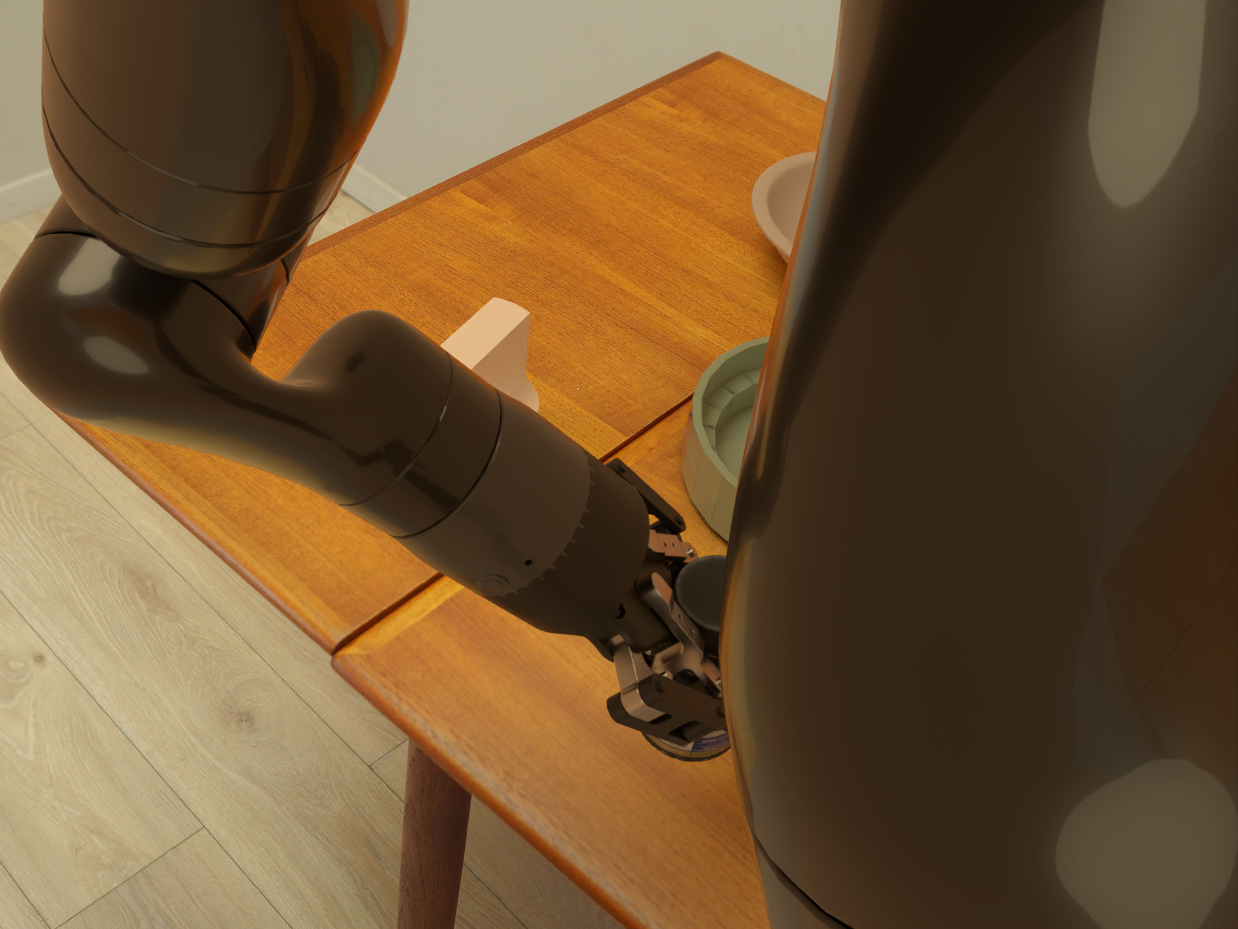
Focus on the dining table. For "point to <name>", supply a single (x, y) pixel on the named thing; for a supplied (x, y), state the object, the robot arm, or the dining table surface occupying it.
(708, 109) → the dining table surface
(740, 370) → the bowl
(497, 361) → the cylinder with rectangular tab
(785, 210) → the oval vessel sink
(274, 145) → the robot arm
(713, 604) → the pill bottle
